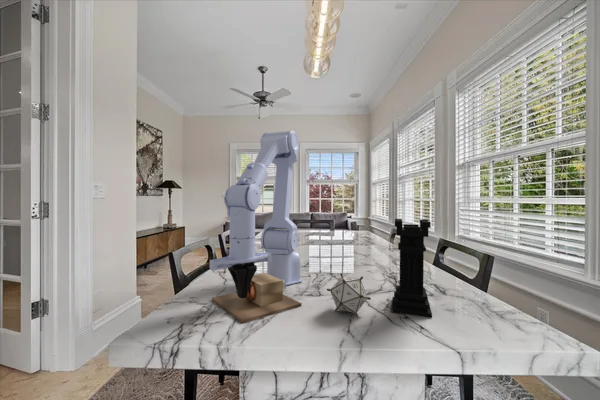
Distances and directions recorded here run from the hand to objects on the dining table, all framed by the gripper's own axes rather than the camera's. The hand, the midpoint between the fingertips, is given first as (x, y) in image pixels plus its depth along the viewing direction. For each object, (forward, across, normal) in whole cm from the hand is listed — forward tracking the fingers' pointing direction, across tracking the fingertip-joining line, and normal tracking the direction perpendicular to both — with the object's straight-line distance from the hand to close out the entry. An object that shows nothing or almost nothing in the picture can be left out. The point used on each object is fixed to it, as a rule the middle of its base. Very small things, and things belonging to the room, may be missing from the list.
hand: (242, 296), depth 64 cm
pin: (+1, -6, 0) cm, 7 cm away
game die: (+2, -17, +17) cm, 24 cm away
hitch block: (+2, -4, 0) cm, 4 cm away
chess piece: (+2, -30, +24) cm, 38 cm away
